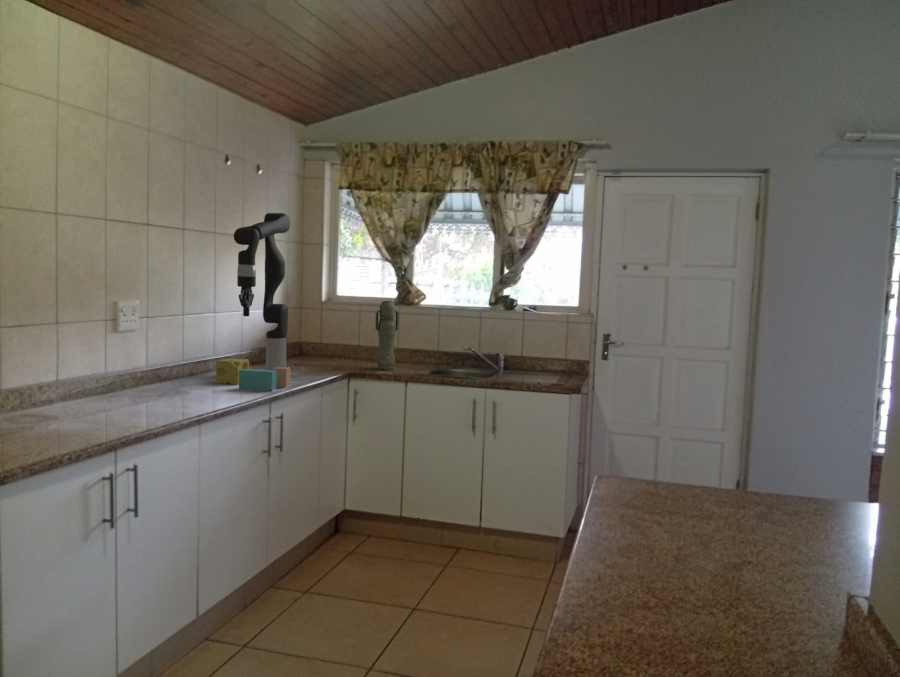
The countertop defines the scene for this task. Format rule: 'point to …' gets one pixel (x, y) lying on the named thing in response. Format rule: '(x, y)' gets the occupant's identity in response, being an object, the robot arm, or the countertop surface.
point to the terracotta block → (282, 376)
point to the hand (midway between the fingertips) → (246, 316)
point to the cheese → (230, 370)
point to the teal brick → (257, 379)
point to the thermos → (386, 335)
